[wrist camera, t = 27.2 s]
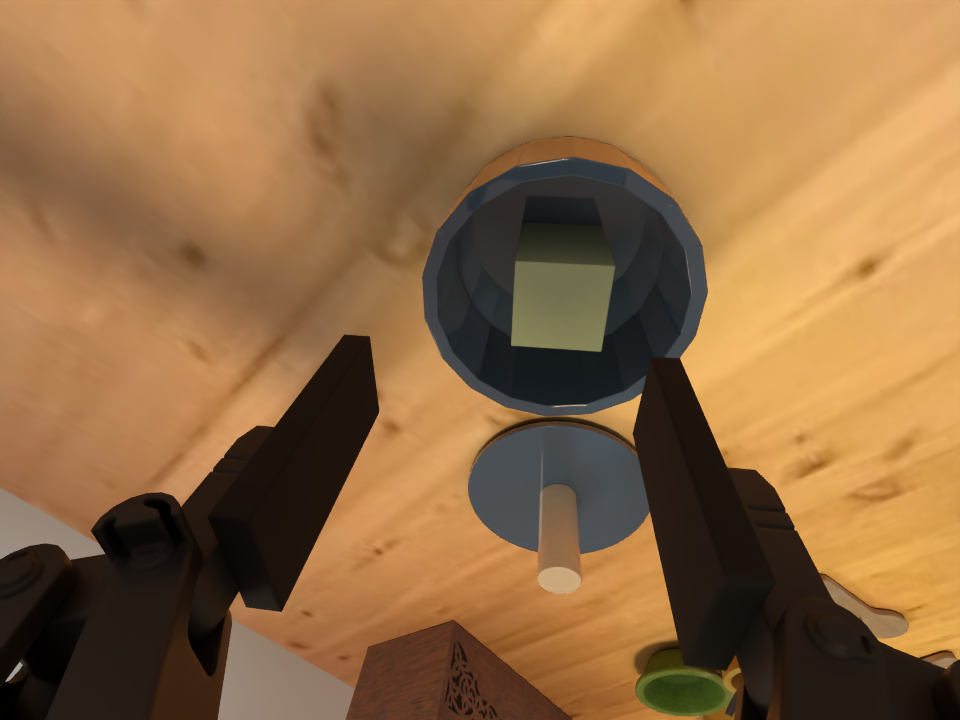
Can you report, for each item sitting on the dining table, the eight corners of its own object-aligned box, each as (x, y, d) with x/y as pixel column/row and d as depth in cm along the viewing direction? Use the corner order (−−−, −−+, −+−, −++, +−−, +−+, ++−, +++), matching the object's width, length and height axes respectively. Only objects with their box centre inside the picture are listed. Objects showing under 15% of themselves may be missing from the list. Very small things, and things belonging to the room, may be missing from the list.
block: (518, 294, 33) (510, 345, 27) (522, 221, 30) (515, 260, 24) (592, 299, 32) (601, 352, 26) (602, 225, 30) (615, 265, 24)
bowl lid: (470, 534, 48) (454, 627, 40) (469, 408, 39) (449, 494, 32) (633, 553, 46) (649, 652, 38) (668, 425, 38) (699, 519, 30)
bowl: (450, 346, 36) (429, 406, 30) (444, 131, 29) (414, 151, 22) (648, 360, 35) (670, 427, 29) (700, 138, 27) (745, 161, 21)
